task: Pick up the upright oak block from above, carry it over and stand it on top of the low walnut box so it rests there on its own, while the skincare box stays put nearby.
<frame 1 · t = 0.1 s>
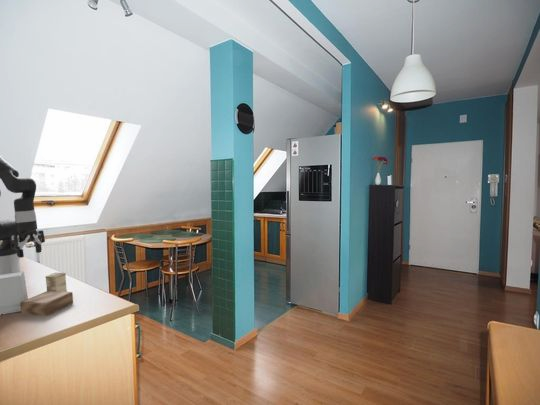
hand: (30, 254, 138), 17 cm above the countertop, tool pointing down, fingers open, 8 cm apart
oak block: (57, 296, 132), on the countertop
skincare box: (13, 311, 118), on the countertop
walnut box: (48, 308, 120), on the countertop
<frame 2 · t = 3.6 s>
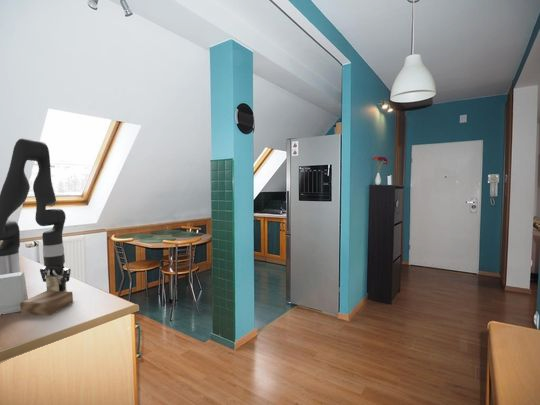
hand: (56, 291, 132), 2 cm above the countertop, tool pointing down, fingers closed on oak block, 5 cm apart
oak block: (57, 296, 132), on the countertop, touching gripper
everything else where it was.
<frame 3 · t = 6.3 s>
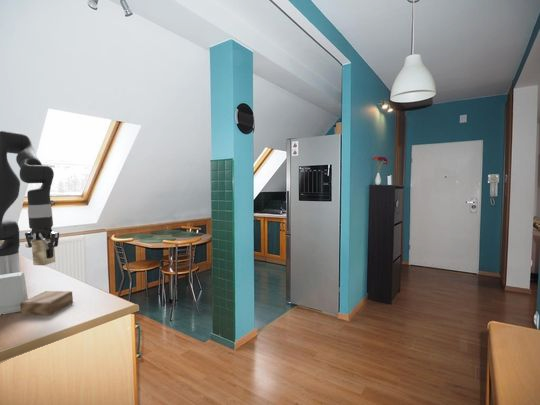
hand: (44, 257, 118), 21 cm above the countertop, tool pointing down, fingers closed on oak block, 5 cm apart
oak block: (44, 263, 119), point 19 cm above the countertop, touching gripper
everything else where it was.
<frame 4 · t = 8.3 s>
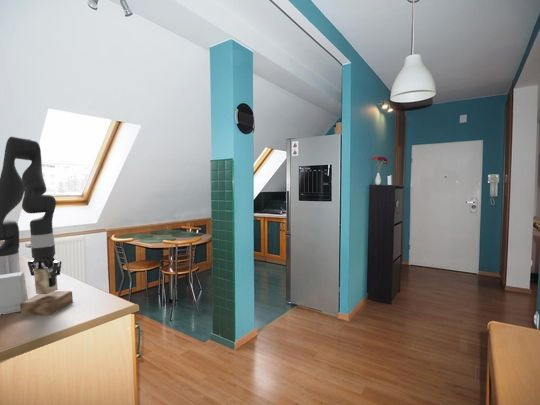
hand: (46, 285, 119), 9 cm above the countertop, tool pointing down, fingers closed on oak block, 5 cm apart
oak block: (47, 291, 120), point 7 cm above the countertop, touching gripper
everything else where it was.
when the fingers open (9 cm above the countertop, at t = 9.3 s): oak block drops 1 cm, point 5 cm above the countertop.
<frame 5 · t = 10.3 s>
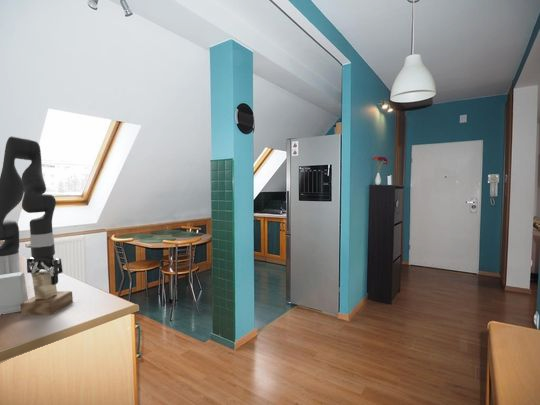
hand: (45, 283, 119), 10 cm above the countertop, tool pointing down, fingers open, 8 cm apart
oak block: (46, 296, 120), point 5 cm above the countertop
everything else where it was.
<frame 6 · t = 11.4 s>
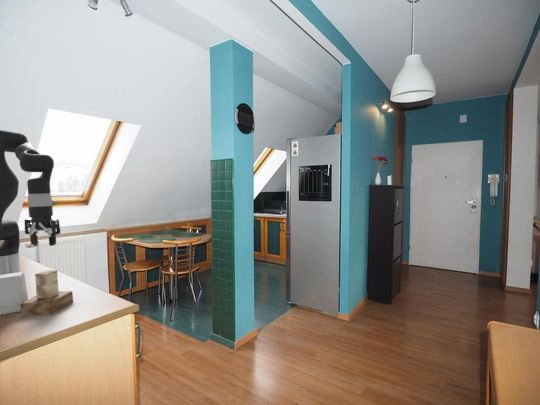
hand: (43, 244, 119), 26 cm above the countertop, tool pointing down, fingers open, 8 cm apart
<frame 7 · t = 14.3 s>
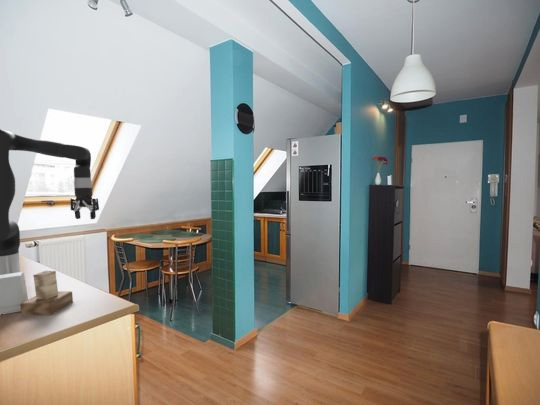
hand: (85, 218, 149), 32 cm above the countertop, tool pointing down, fingers open, 8 cm apart
at the end: oak block 0.3 cm from the walnut box (horizontally); oak block point 4.9 cm above the countertop; oak block tilted 2° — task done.
